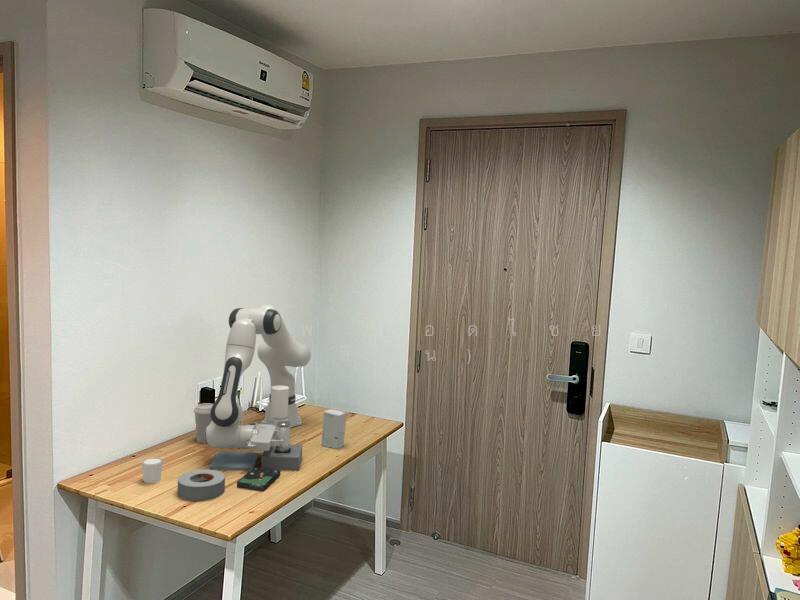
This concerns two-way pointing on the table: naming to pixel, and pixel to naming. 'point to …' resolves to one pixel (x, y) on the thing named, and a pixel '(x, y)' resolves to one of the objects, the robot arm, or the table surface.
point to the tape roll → (201, 485)
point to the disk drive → (258, 479)
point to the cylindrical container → (279, 405)
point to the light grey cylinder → (152, 470)
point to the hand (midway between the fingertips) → (285, 438)
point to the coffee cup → (202, 420)
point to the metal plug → (283, 436)
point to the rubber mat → (234, 460)
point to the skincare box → (333, 428)
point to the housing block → (282, 458)
